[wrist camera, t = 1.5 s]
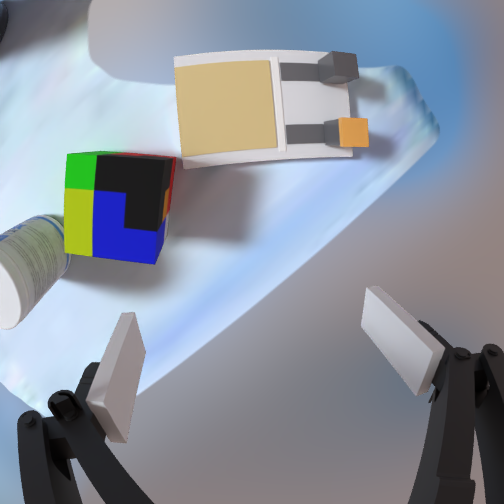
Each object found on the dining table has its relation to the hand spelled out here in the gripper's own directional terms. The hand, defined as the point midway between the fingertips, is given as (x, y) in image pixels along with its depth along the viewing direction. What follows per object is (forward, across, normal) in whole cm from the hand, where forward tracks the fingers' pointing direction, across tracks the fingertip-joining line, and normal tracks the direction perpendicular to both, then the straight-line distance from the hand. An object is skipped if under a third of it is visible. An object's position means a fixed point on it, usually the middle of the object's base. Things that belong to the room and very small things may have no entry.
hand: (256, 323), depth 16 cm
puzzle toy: (+24, -12, +5) cm, 27 cm away
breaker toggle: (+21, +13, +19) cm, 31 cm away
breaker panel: (+23, +5, +15) cm, 28 cm away
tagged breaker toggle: (+21, +14, +11) cm, 27 cm away
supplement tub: (+23, -27, -1) cm, 35 cm away
